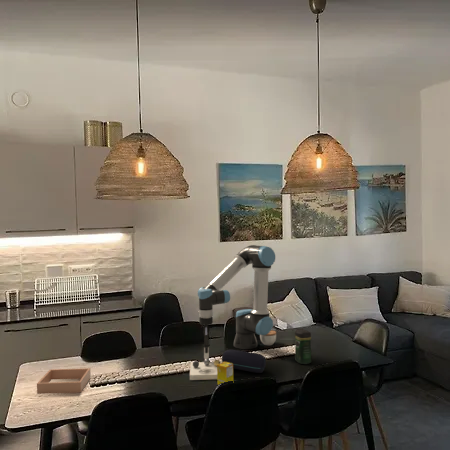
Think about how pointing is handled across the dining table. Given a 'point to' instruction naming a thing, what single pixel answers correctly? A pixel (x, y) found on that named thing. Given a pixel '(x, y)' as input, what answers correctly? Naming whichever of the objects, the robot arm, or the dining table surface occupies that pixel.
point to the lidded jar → (268, 338)
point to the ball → (206, 361)
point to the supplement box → (224, 372)
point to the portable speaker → (245, 360)
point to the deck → (203, 371)
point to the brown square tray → (63, 387)
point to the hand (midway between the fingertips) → (206, 358)
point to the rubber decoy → (195, 363)
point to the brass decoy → (216, 362)
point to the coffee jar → (303, 346)
